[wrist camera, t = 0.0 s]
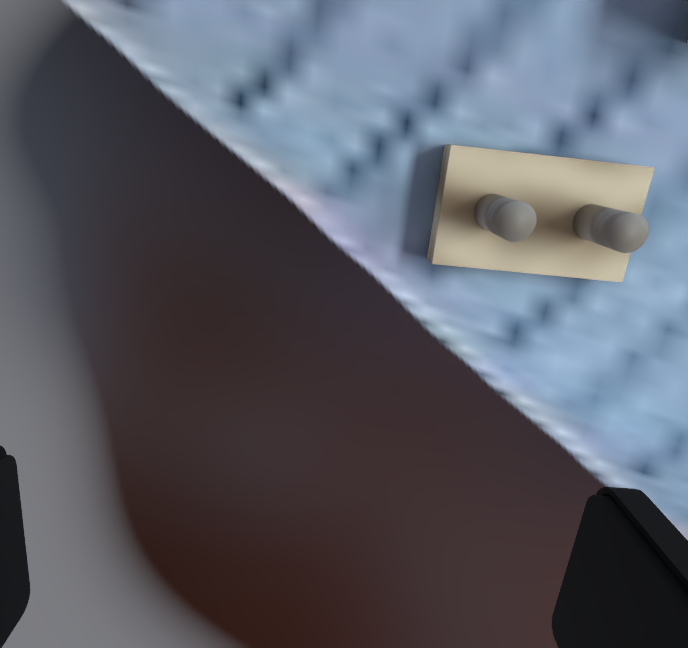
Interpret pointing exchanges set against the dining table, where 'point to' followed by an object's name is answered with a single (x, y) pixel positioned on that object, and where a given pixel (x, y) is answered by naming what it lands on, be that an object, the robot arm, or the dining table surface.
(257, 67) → the dining table surface
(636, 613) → the robot arm
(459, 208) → the pin board
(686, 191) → the dining table surface
